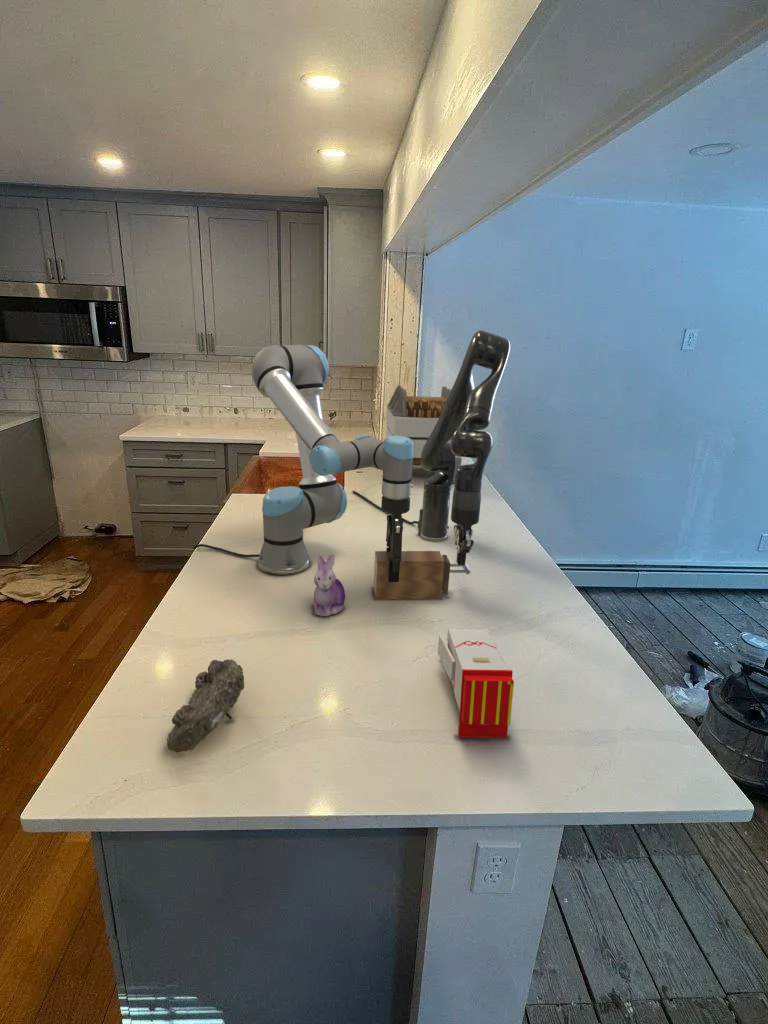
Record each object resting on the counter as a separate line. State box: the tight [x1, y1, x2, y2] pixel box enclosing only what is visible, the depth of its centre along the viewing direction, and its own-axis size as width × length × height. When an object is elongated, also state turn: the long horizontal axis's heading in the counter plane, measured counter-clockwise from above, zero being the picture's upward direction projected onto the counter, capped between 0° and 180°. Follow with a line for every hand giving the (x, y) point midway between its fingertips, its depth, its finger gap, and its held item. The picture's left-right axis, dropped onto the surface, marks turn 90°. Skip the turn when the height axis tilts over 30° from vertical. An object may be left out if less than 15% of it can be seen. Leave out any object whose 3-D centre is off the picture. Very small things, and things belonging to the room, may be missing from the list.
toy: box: [437, 628, 515, 738], centre depth 117 cm, size 12×13×30 cm
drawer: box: [441, 554, 471, 596], centre depth 157 cm, size 23×6×10 cm, turn 96°
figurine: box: [313, 553, 346, 617], centre depth 146 cm, size 9×10×15 cm
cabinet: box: [373, 550, 444, 600], centre depth 157 cm, size 18×7×11 cm, turn 96°
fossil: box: [166, 658, 245, 754], centre depth 106 cm, size 22×10×15 cm
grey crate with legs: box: [385, 384, 463, 484], centre depth 268 cm, size 34×33×41 cm
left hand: (392, 575), depth 156 cm, fingers closed on cabinet, 7 cm apart
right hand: (460, 563), depth 157 cm, fingers closed
